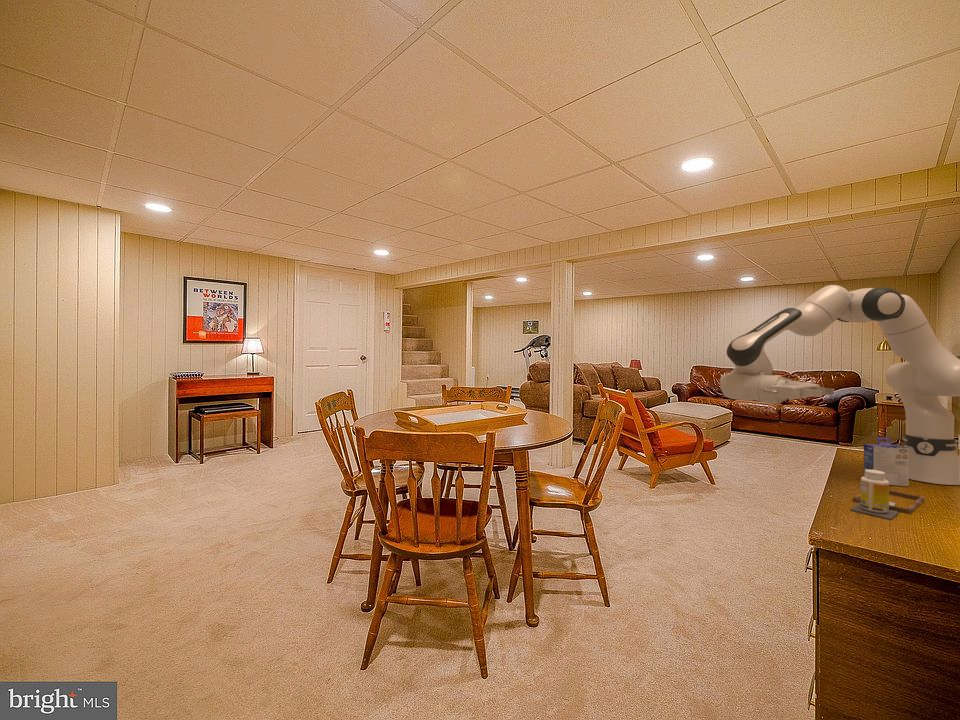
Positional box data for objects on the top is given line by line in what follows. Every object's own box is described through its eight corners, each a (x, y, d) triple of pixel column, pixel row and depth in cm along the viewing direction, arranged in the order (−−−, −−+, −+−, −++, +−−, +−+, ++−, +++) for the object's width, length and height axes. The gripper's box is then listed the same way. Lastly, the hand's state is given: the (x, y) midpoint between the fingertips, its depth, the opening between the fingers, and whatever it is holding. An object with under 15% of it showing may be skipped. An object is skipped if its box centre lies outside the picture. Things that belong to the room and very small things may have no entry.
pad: (859, 504, 119) (859, 502, 119) (898, 513, 112) (899, 511, 112) (850, 510, 114) (850, 508, 114) (891, 520, 108) (891, 518, 108)
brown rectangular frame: (870, 489, 131) (870, 486, 131) (924, 500, 122) (924, 497, 122) (852, 501, 121) (852, 497, 121) (910, 514, 112) (910, 510, 112)
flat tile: (876, 502, 122) (876, 499, 122) (895, 506, 119) (895, 503, 119) (873, 505, 119) (873, 502, 119) (893, 509, 116) (893, 506, 116)
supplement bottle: (892, 511, 112) (893, 472, 112) (882, 515, 110) (883, 475, 109) (866, 505, 117) (867, 467, 117) (855, 508, 115) (856, 469, 114)
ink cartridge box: (897, 481, 140) (898, 437, 140) (910, 486, 135) (911, 440, 135) (861, 479, 142) (862, 435, 142) (873, 484, 137) (874, 439, 137)
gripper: (760, 380, 131) (815, 383, 120) (787, 378, 143) (839, 380, 132) (759, 401, 131) (815, 406, 120) (786, 397, 143) (839, 401, 132)
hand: (828, 392), depth 126 cm, fingers open, 8 cm apart
